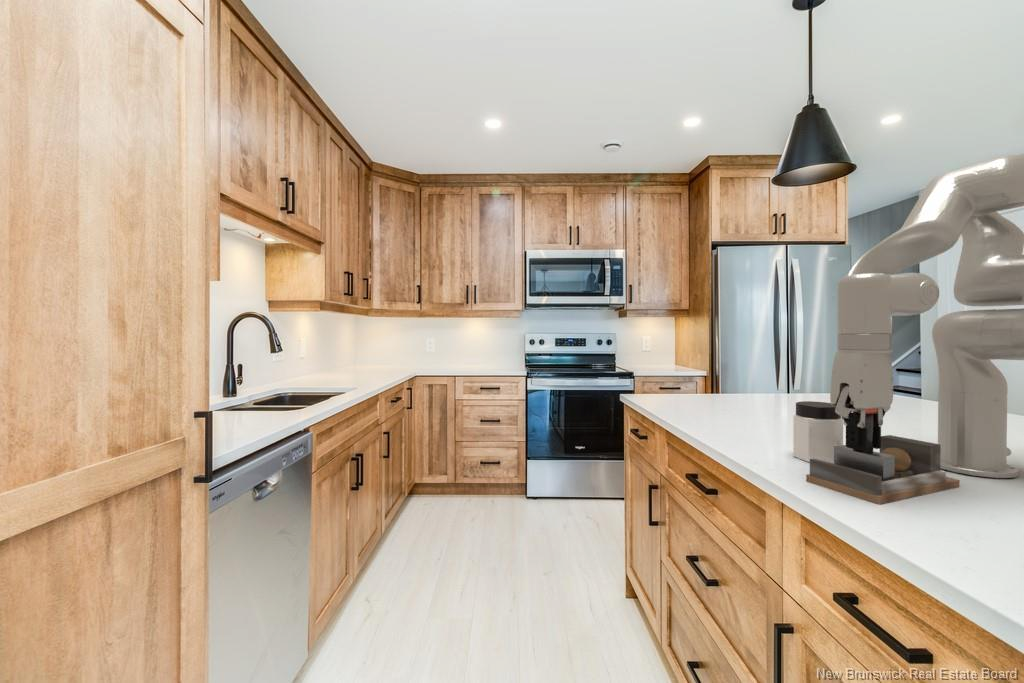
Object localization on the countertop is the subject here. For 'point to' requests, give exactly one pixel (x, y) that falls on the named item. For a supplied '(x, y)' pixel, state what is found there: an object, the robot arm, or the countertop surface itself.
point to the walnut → (899, 458)
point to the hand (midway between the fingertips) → (863, 447)
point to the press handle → (866, 454)
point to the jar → (816, 431)
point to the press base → (905, 484)
